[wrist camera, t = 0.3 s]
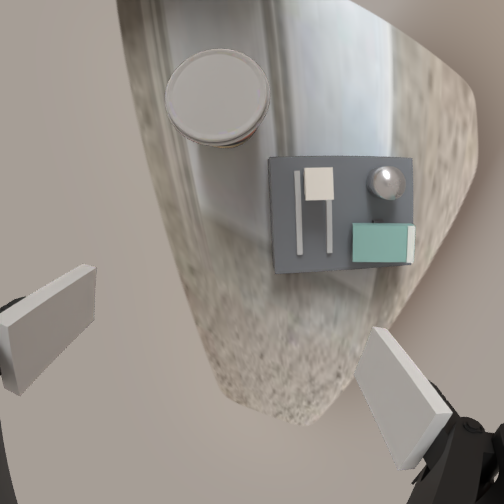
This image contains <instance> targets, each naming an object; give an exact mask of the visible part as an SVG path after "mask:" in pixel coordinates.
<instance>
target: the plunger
mask: <svg viewBox="0 0 504 504" xmlns="http://www.w3.org/2000/svg"><path fill="white" fill-rule="evenodd" d="M366 184H367V188H368V190H369V192H370V193H371V194H372V195H373V196H374V197H377V198H381V199H386V200H396V199H398V198H399V197H401V196H402V194H403V193H404V191H405V187H406V180H405V177H404V175H403V173H402V172H401V171H400V170H399V169H398V168H396V167H393V166H386V167H376V168H374V169H372V170H371V171H370V172H369V174H368V176H367V180H366Z"/></svg>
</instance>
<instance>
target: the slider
mask: <svg viewBox="0 0 504 504" xmlns="http://www.w3.org/2000/svg"><path fill="white" fill-rule="evenodd" d="M303 176H304V195H305V200H334V186H333V167H320V168H304V172H303Z"/></svg>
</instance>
